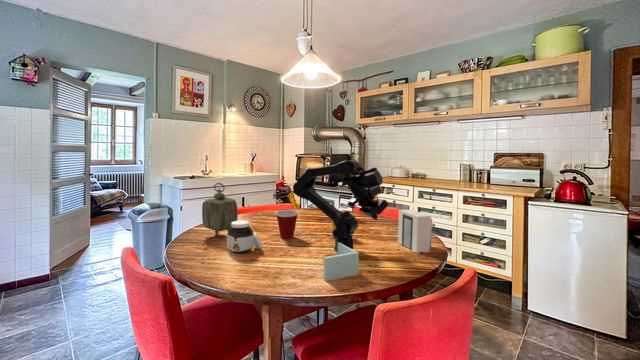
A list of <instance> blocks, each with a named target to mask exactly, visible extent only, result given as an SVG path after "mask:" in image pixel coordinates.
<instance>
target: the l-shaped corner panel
mask: <svg viewBox="0 0 640 360" xmlns="http://www.w3.org/2000/svg"><path fill="white" fill-rule="evenodd" d="M359 254H360V253H359V252H358V251H356V250H354V248H353V249H351V248H349V247H347V246H345V245H343V244H341V243H338V252H337V255H336V254H335V255H329V256H324V257H323V281H324V282H329V281H333V280H338V279H343V278H348V277H353V276H358V275H359Z"/></svg>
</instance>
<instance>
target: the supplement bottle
mask: <svg viewBox="0 0 640 360" xmlns="http://www.w3.org/2000/svg"><path fill="white" fill-rule="evenodd" d="M337 209H338V210H339V211H340V212H342V213H344V212H345V209H343V208H337ZM335 229H336V226H335V224H334V222H333V220H332V219H331V237H332V238H335V237H334V236H333V233H332V232H333V231H334V230H335Z"/></svg>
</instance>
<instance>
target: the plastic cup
mask: <svg viewBox="0 0 640 360" xmlns="http://www.w3.org/2000/svg"><path fill="white" fill-rule="evenodd" d="M299 213H300V212H299V211H297V210H295V209H294V210H293V209H284V210H283V209H282V210H278V211H276V212H275V213H274V215H275V216H276V220H277V224H278V230H279V231H278V232H279V236H280V238H281V239H283V240H290V239H293V238H294V236H295V231H296V224H297V219H298V215H299Z"/></svg>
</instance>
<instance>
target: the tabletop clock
mask: <svg viewBox="0 0 640 360" xmlns="http://www.w3.org/2000/svg"><path fill="white" fill-rule="evenodd" d="M218 185H220V186H222V188H223V189H222V190H221V189H220V188H218V189H216V186H218ZM213 189H214V191H216V193H215V194H214V195H213V198H209V199H208V198H207V199H205V200H204V201H203V202H202V207H201V208H202V209H201V210H202V211H201V218H202V225H203V227H204V228H206V229H209V230H212V231H214V233H215V234H214V236H213V237H214V238H215V239H217V238H218V237H219V235H218V233H219V232H223V231H227V232H228V231H229V229H230V228H231V223H232V222H234V221H238V216H239V214H238V204H237V202H236V199H233V198H231V197H226V195H225V194H224V193H223V192H224V191H225V185H224V184H223V183H222V182H216V183H215V184H214V185H213Z"/></svg>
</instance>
